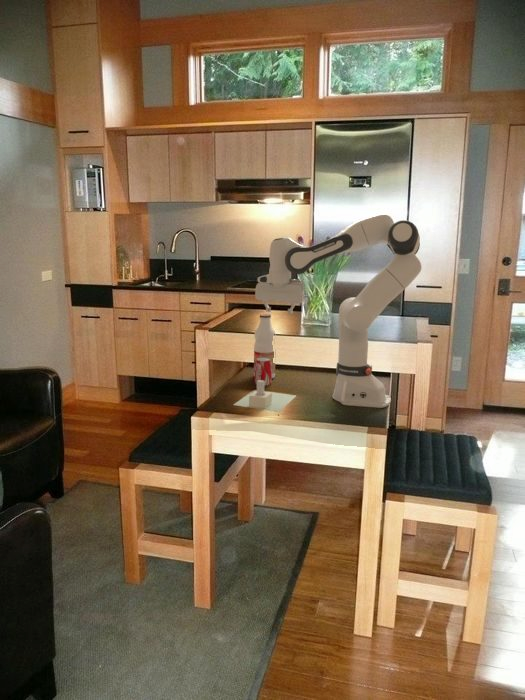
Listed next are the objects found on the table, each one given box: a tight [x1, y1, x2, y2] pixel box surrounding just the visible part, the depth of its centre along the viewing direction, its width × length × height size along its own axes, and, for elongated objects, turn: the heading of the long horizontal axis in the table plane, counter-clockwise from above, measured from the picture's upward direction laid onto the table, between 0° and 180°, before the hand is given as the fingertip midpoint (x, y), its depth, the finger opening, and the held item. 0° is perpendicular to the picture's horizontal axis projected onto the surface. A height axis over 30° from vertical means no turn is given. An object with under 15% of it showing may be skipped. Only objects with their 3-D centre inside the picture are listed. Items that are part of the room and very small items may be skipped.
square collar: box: [249, 391, 272, 408], centre depth 203 cm, size 6×6×4 cm
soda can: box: [254, 357, 273, 387], centre depth 229 cm, size 7×7×12 cm
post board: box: [233, 380, 297, 417], centre depth 208 cm, size 18×20×10 cm
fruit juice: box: [253, 313, 276, 379], centre depth 242 cm, size 9×9×28 cm
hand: (279, 312), depth 225 cm, fingers open, 8 cm apart
